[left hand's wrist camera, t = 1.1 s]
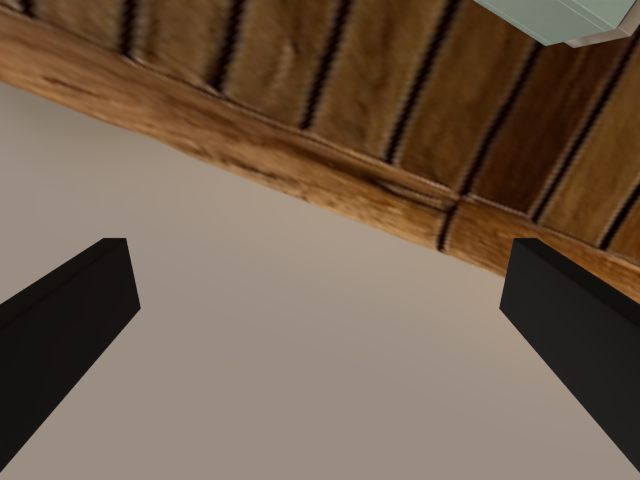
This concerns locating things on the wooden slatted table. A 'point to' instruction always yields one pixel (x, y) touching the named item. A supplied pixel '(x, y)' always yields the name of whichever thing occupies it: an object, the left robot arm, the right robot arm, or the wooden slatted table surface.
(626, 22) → the drawer
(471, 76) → the wooden slatted table surface
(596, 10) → the cabinet
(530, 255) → the left robot arm
